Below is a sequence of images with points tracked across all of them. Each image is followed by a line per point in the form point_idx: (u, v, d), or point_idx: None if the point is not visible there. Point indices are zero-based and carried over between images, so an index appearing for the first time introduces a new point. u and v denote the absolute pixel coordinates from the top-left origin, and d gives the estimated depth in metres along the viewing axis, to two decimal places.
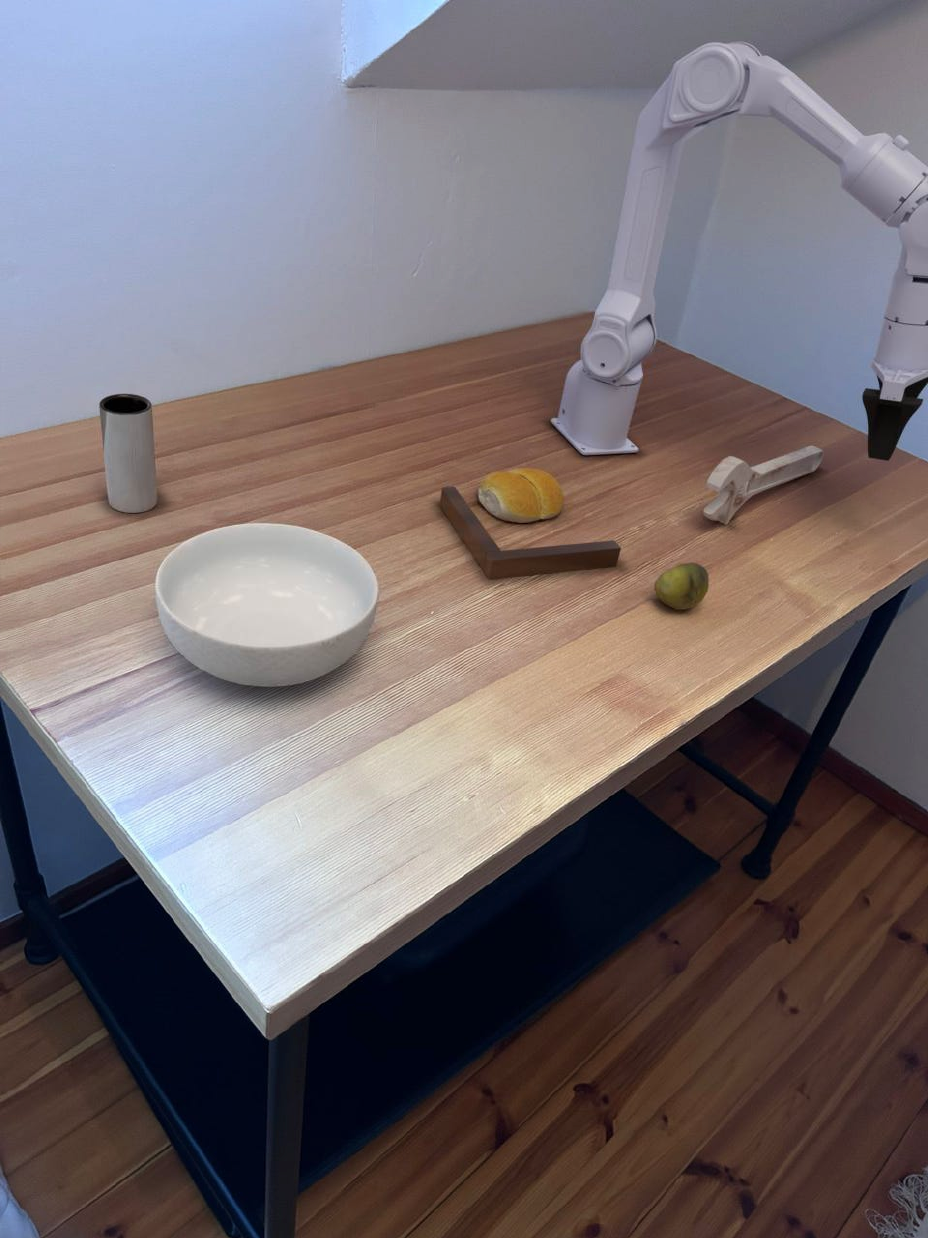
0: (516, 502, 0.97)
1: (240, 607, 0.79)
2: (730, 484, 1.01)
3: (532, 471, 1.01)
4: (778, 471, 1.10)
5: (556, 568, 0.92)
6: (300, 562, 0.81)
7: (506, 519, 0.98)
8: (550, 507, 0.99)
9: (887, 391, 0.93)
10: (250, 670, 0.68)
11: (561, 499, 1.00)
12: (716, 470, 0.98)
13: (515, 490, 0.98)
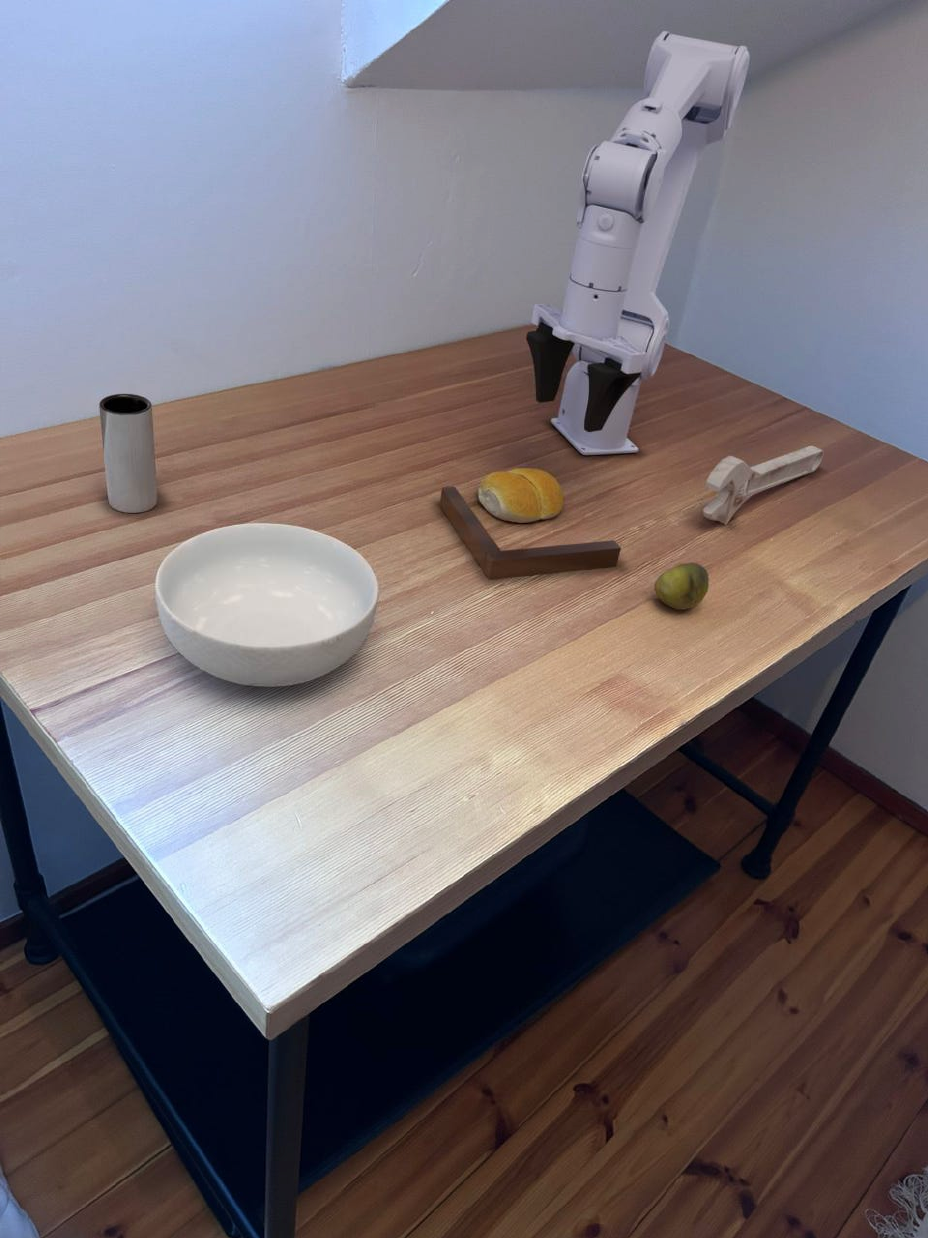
0: (516, 502, 0.97)
1: (240, 607, 0.79)
2: (729, 484, 1.01)
3: (532, 471, 1.01)
4: (778, 471, 1.10)
5: (556, 568, 0.92)
6: (300, 562, 0.81)
7: (506, 519, 0.98)
8: (550, 507, 0.99)
9: None
10: (250, 670, 0.68)
11: (561, 499, 1.00)
12: (715, 470, 0.99)
13: (515, 490, 0.98)
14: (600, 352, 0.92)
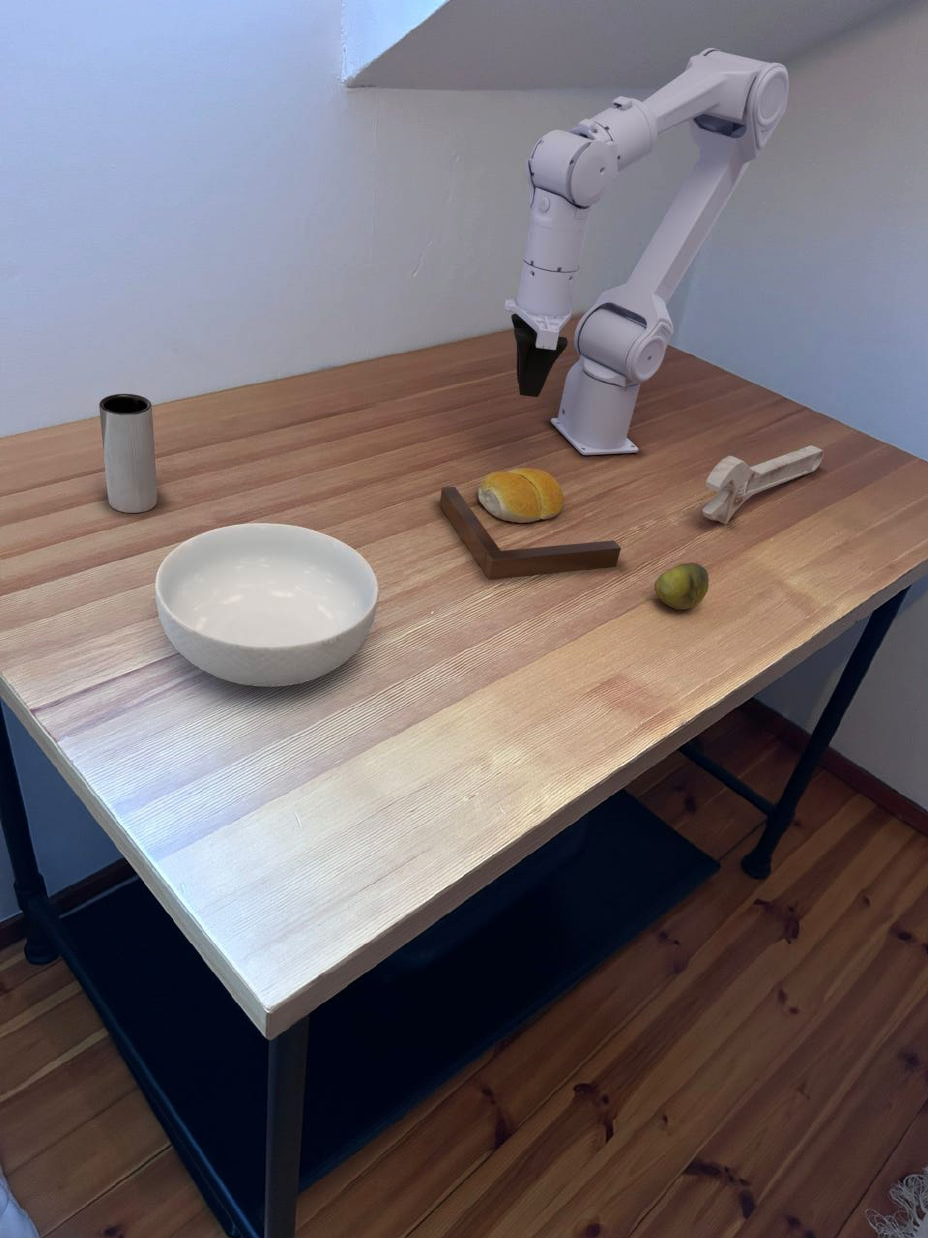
0: (516, 502, 0.97)
1: (240, 607, 0.79)
2: (729, 484, 1.01)
3: (532, 471, 1.01)
4: (778, 471, 1.10)
5: (556, 568, 0.92)
6: (300, 562, 0.81)
7: (506, 519, 0.98)
8: (550, 507, 0.99)
9: None
10: (250, 670, 0.68)
11: (561, 499, 1.00)
12: (715, 470, 0.99)
13: (515, 490, 0.98)
14: None
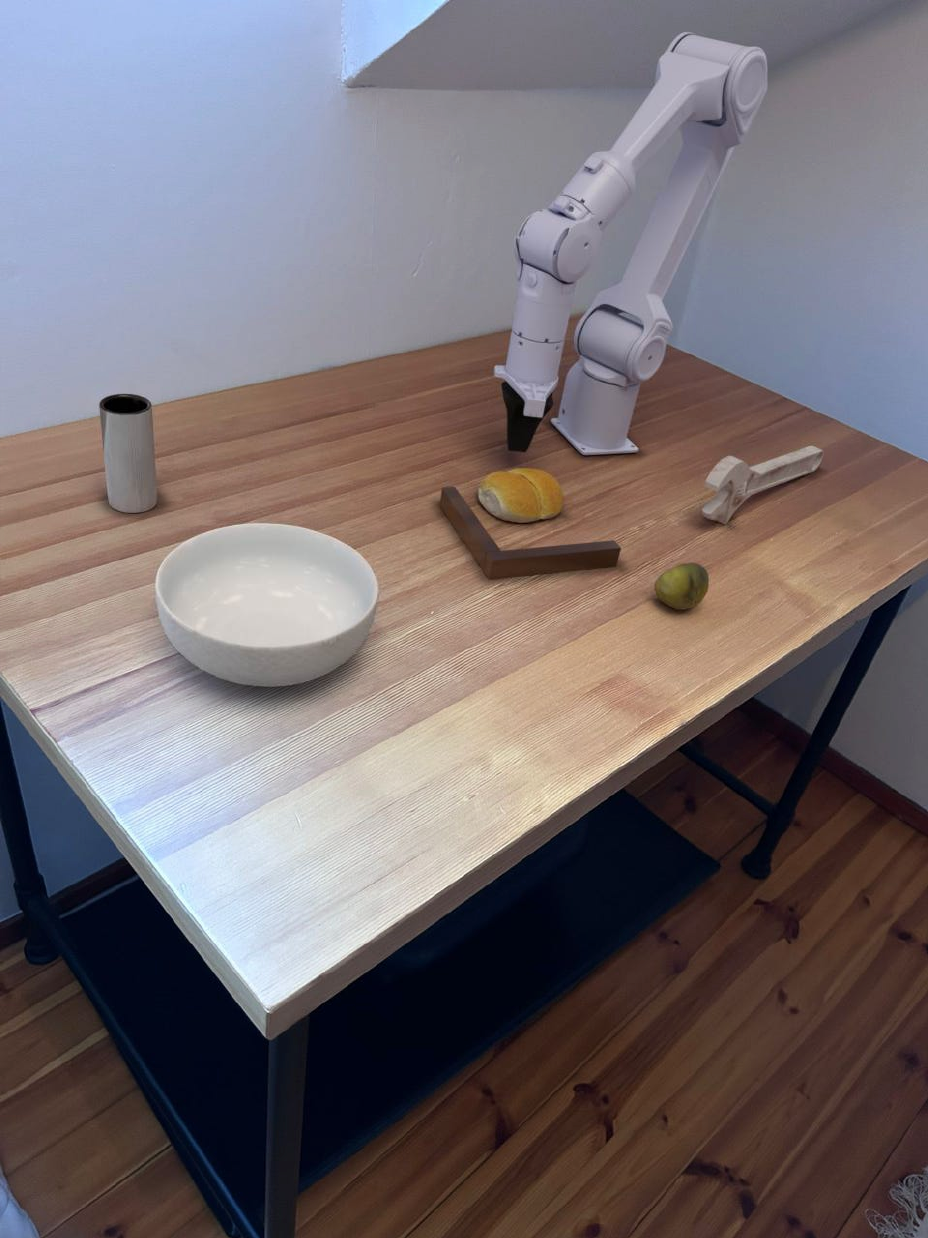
0: (516, 502, 0.97)
1: (240, 607, 0.79)
2: (729, 484, 1.01)
3: (532, 471, 1.01)
4: (777, 471, 1.10)
5: (556, 568, 0.92)
6: (300, 562, 0.81)
7: (506, 519, 0.98)
8: (550, 507, 0.99)
9: None
10: (250, 670, 0.68)
11: (561, 499, 1.00)
12: (714, 470, 0.99)
13: (515, 490, 0.98)
14: None
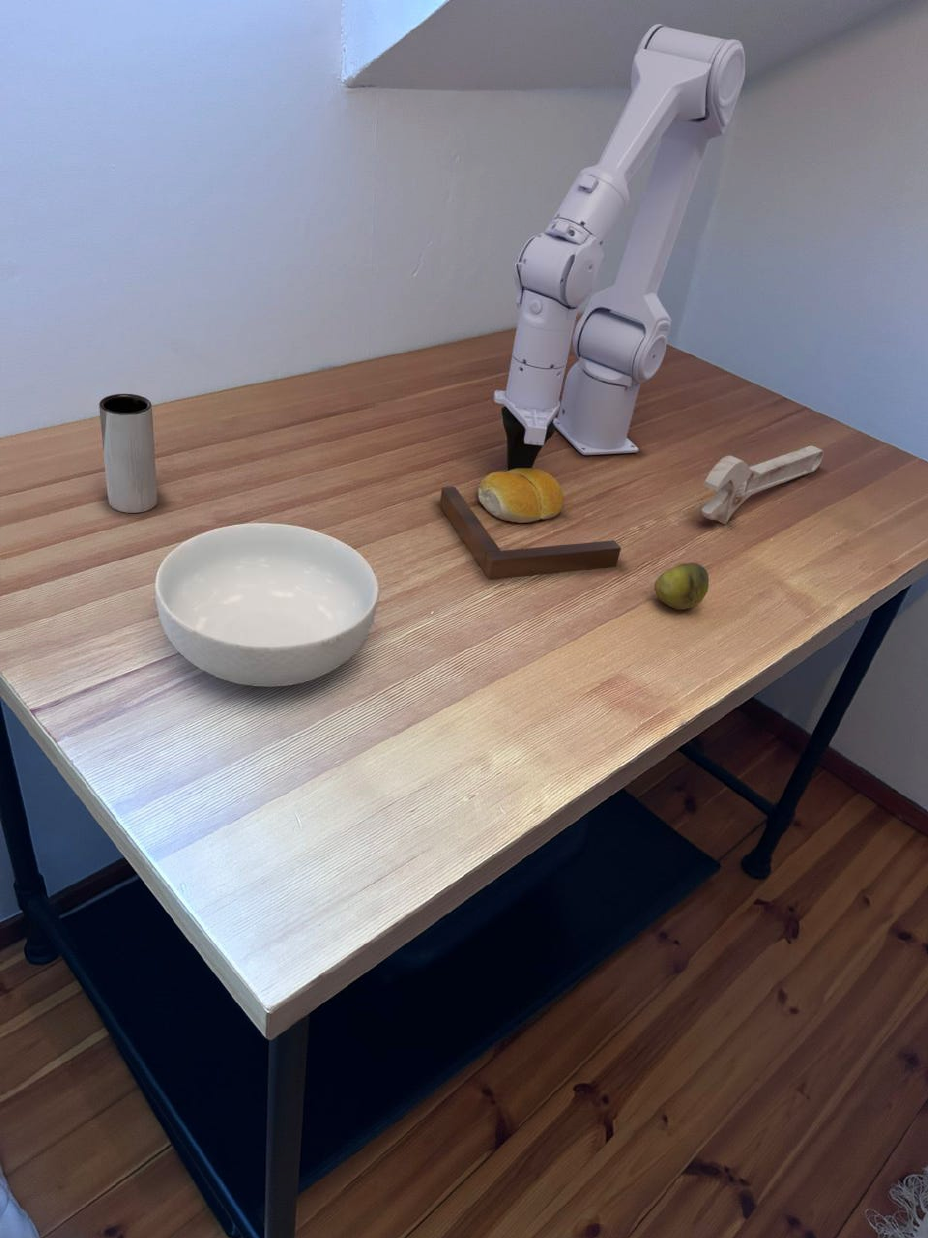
0: (516, 502, 0.97)
1: (240, 607, 0.79)
2: (728, 483, 1.01)
3: (532, 471, 1.01)
4: (777, 471, 1.10)
5: (556, 568, 0.92)
6: (300, 562, 0.81)
7: (506, 519, 0.98)
8: (550, 507, 0.99)
9: None
10: (250, 670, 0.68)
11: (561, 499, 1.00)
12: (714, 469, 0.99)
13: (515, 490, 0.98)
14: None
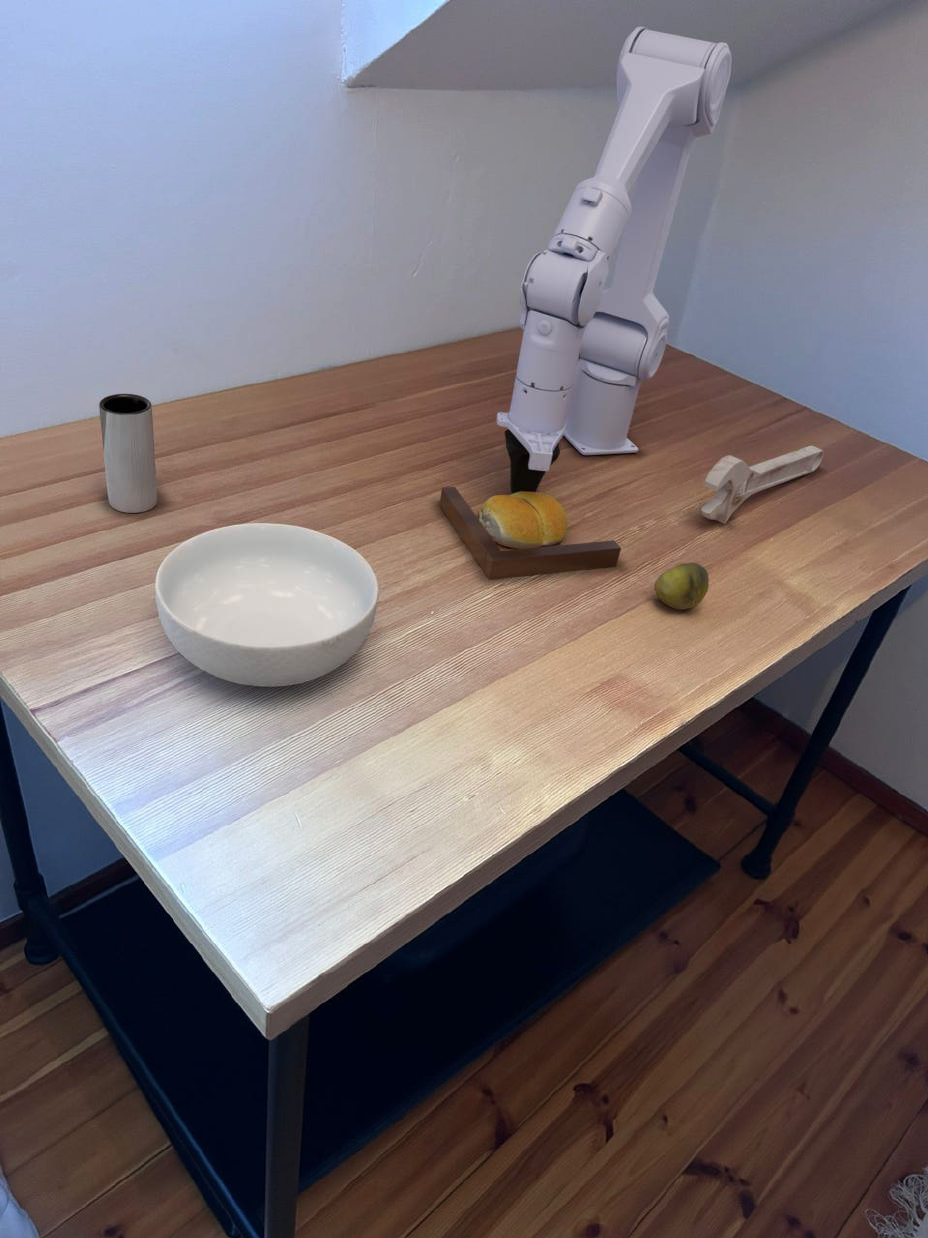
0: (517, 527, 0.93)
1: (240, 607, 0.79)
2: (728, 483, 1.01)
3: (535, 494, 0.97)
4: (777, 471, 1.10)
5: (556, 568, 0.92)
6: (300, 562, 0.81)
7: (506, 545, 0.94)
8: (553, 534, 0.95)
9: None
10: (250, 670, 0.68)
11: (565, 525, 0.96)
12: (714, 469, 0.99)
13: (516, 515, 0.93)
14: None
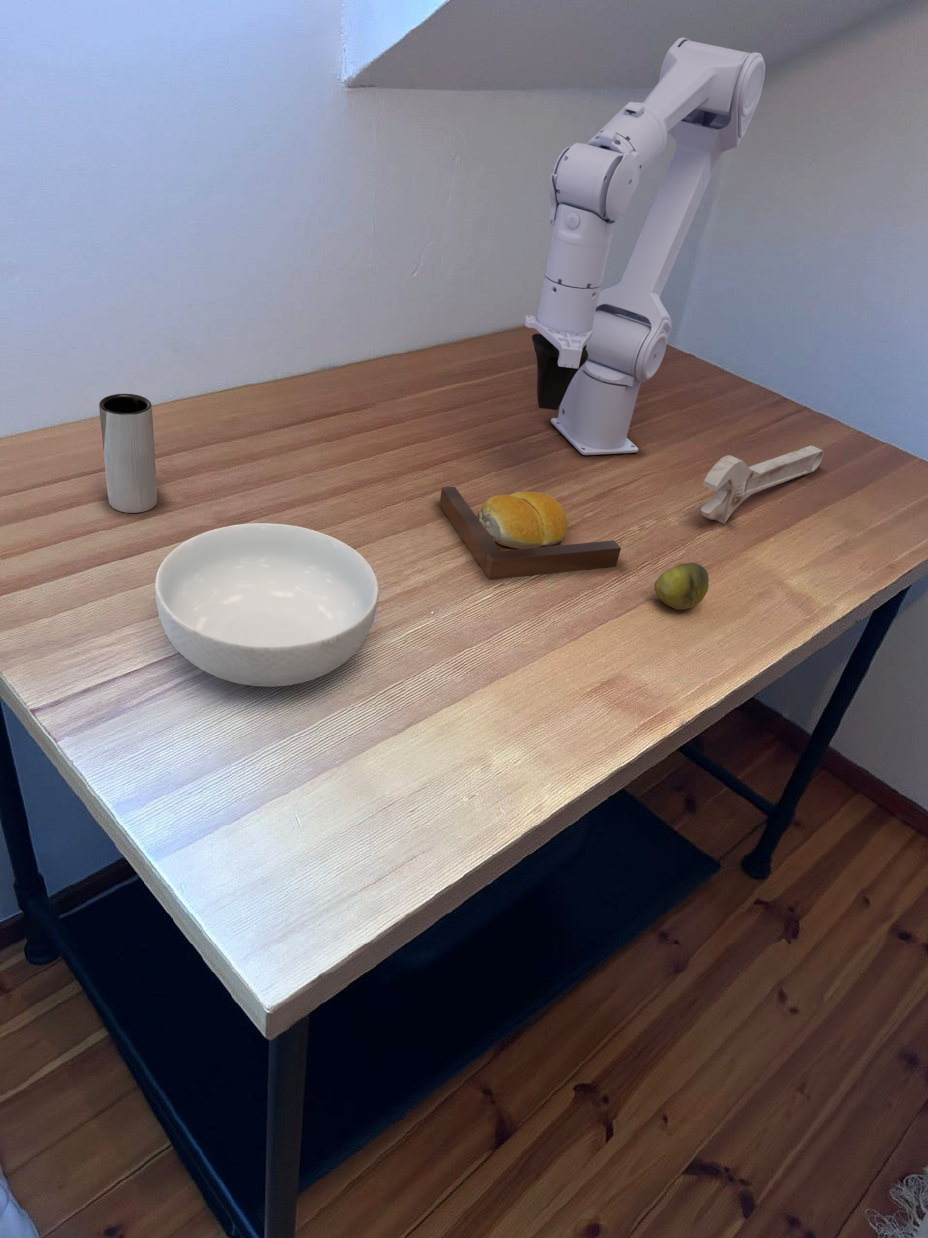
0: (517, 527, 0.93)
1: (240, 607, 0.79)
2: (728, 483, 1.01)
3: (535, 494, 0.97)
4: (777, 471, 1.10)
5: (556, 568, 0.92)
6: (300, 562, 0.81)
7: (506, 545, 0.94)
8: (553, 534, 0.95)
9: None
10: (250, 670, 0.68)
11: (565, 525, 0.96)
12: (713, 469, 0.99)
13: (516, 515, 0.93)
14: None
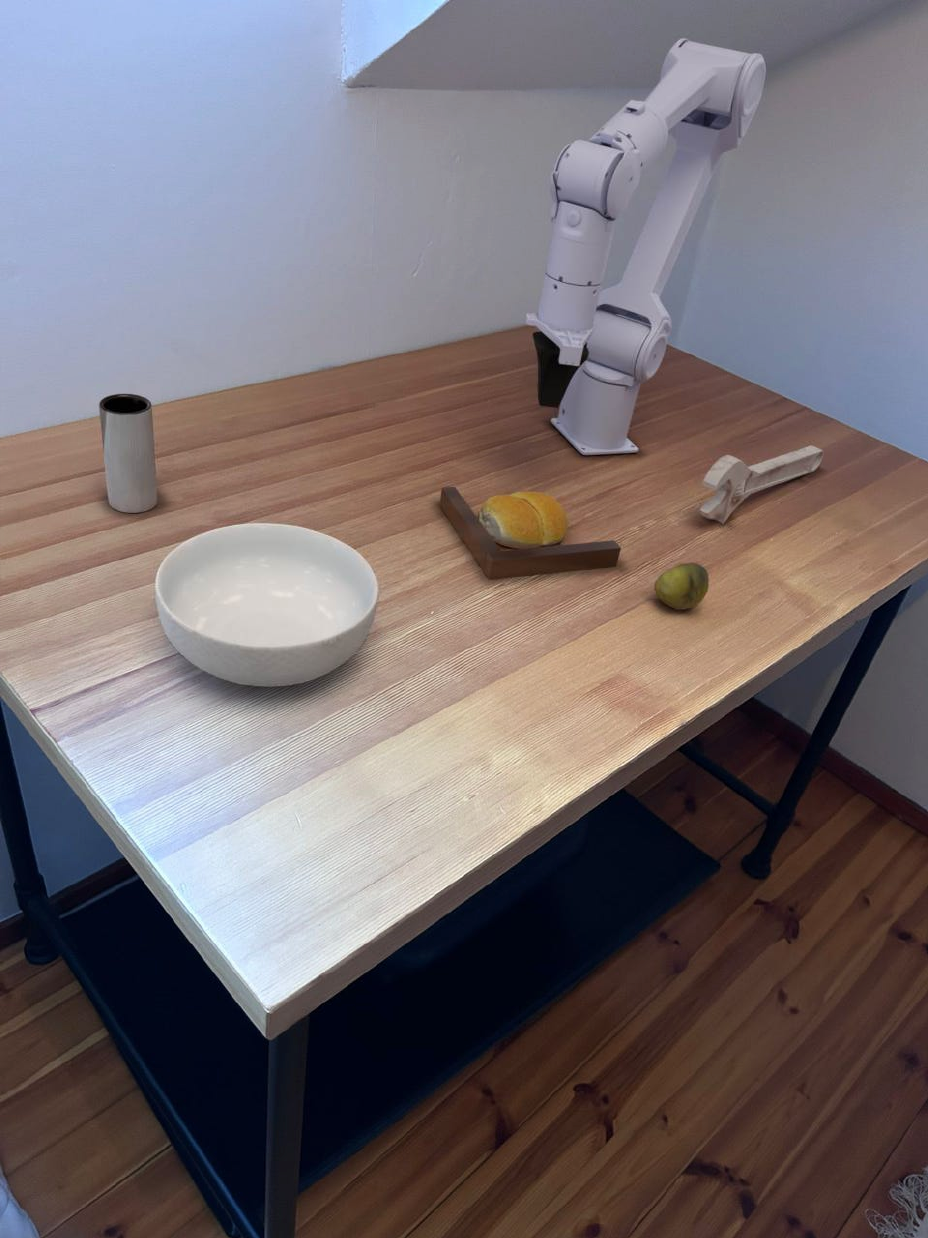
0: (517, 527, 0.93)
1: (240, 607, 0.79)
2: (727, 483, 1.02)
3: (535, 494, 0.97)
4: (776, 470, 1.10)
5: (556, 568, 0.92)
6: (300, 562, 0.81)
7: (506, 545, 0.94)
8: (553, 534, 0.95)
9: None
10: (250, 670, 0.68)
11: (565, 525, 0.96)
12: (712, 469, 0.99)
13: (516, 515, 0.93)
14: None
